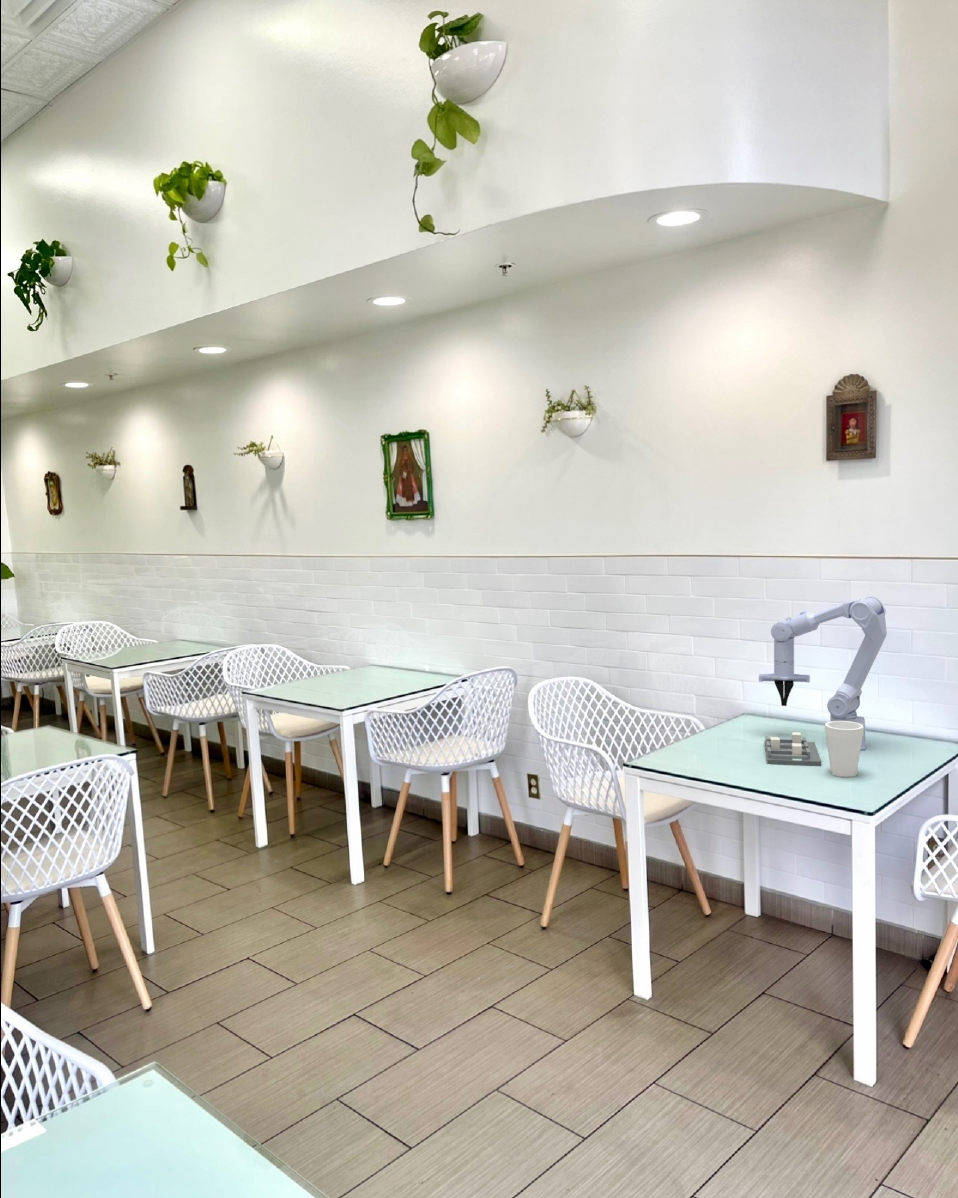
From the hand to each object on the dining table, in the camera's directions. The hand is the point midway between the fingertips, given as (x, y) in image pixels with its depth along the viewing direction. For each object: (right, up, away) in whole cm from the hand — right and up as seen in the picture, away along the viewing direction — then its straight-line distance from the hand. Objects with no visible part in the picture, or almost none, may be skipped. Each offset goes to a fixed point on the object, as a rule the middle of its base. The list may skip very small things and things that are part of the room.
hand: (783, 705), depth 285 cm
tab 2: (0, -10, -12) cm, 16 cm away
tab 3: (-4, -11, -24) cm, 26 cm away
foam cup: (+4, -14, -36) cm, 39 cm away
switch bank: (-3, -12, -17) cm, 21 cm away
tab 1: (-8, -11, -16) cm, 21 cm away
